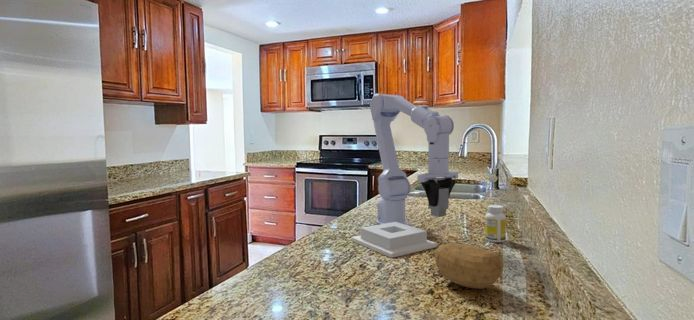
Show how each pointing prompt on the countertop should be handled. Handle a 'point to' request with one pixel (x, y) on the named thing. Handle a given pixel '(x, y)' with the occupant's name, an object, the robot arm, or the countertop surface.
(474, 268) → the potato
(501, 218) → the supplement bottle
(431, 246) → the bracket board
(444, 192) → the grey tall block
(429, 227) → the countertop surface
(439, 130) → the robot arm
